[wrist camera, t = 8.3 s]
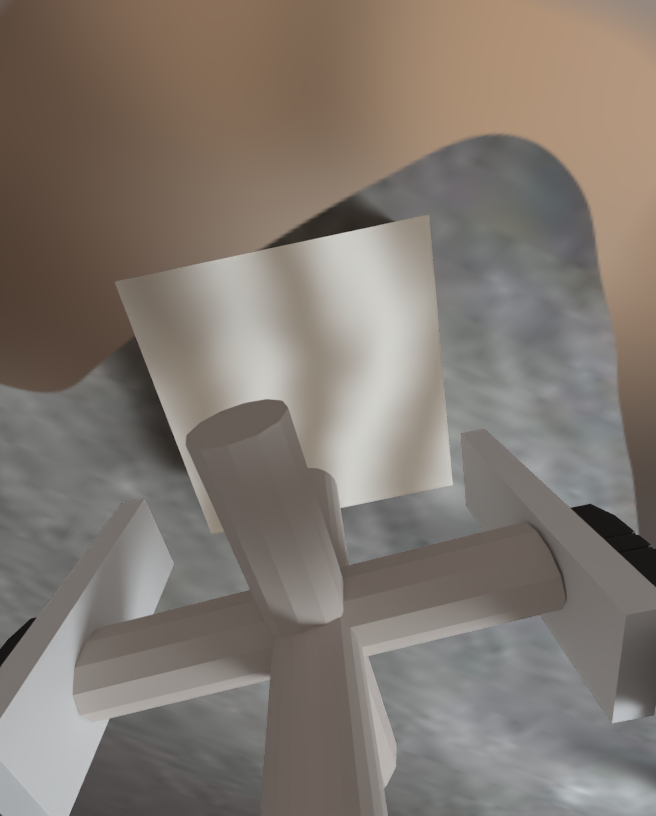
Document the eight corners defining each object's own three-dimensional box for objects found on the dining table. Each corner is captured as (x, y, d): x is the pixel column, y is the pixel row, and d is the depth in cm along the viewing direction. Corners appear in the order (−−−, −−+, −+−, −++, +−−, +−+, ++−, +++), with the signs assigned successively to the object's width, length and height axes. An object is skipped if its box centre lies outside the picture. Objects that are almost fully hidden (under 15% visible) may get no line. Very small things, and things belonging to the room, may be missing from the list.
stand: (228, 484, 31) (211, 534, 25) (156, 276, 25) (114, 281, 19) (424, 443, 30) (452, 484, 25) (399, 224, 25) (428, 214, 19)
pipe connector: (222, 625, 15) (95, 1212, 6) (105, 396, 11) (-751, 994, 2) (470, 564, 15) (757, 1084, 5) (431, 307, 11) (1097, 560, 2)
